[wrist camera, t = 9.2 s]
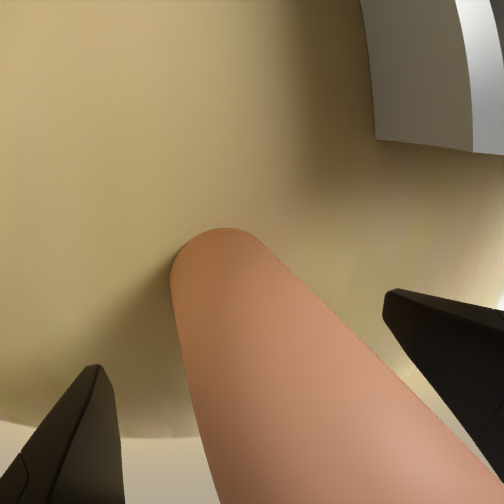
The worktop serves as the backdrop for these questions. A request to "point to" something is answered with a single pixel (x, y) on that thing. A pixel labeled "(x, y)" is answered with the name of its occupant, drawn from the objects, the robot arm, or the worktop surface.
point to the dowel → (303, 393)
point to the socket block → (437, 72)
